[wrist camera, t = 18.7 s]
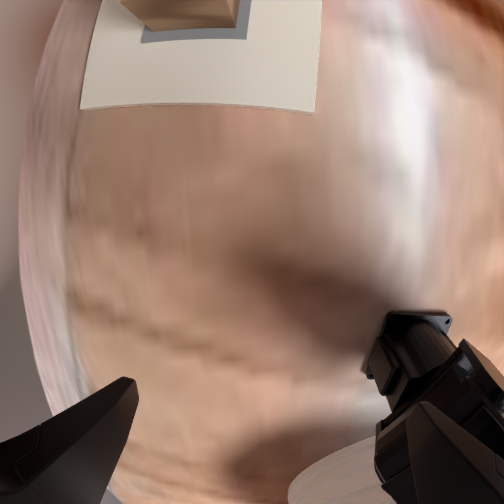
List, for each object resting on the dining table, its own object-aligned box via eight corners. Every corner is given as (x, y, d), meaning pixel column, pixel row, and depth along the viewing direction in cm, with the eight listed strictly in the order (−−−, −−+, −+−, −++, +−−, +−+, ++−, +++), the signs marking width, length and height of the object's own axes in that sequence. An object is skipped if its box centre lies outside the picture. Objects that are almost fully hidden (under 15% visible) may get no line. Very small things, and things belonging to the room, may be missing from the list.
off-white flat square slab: (321, -59, 12) (323, -67, 11) (312, 114, 17) (314, 112, 16) (127, -50, 13) (122, -56, 12) (87, 110, 18) (78, 109, 17)
